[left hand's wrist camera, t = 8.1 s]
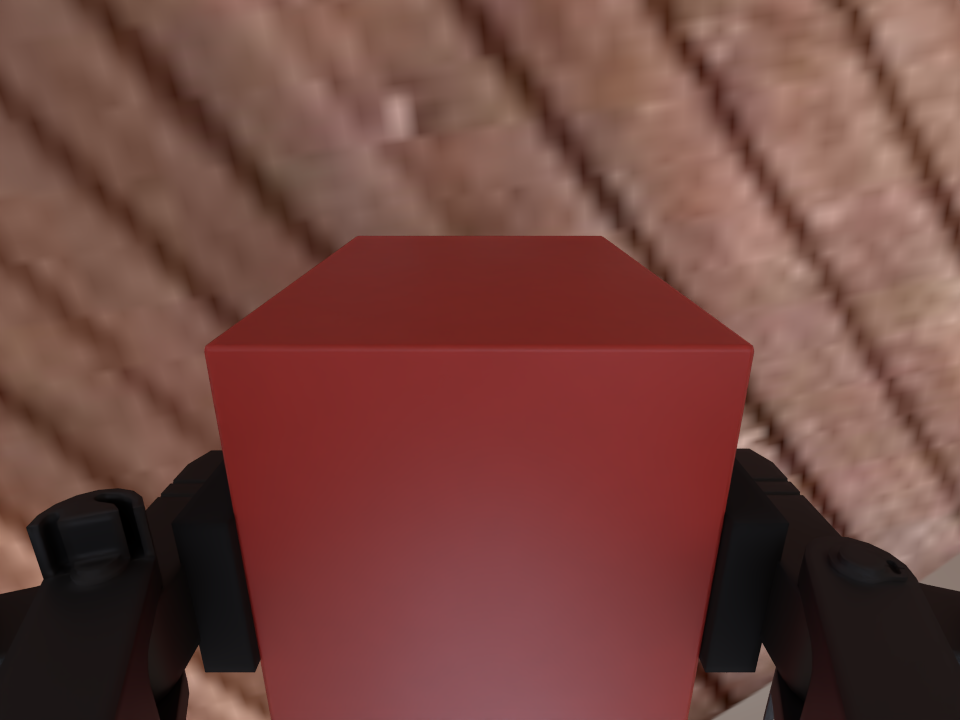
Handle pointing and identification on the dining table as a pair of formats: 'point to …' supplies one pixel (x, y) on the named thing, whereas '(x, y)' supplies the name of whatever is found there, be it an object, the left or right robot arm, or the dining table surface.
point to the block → (479, 480)
